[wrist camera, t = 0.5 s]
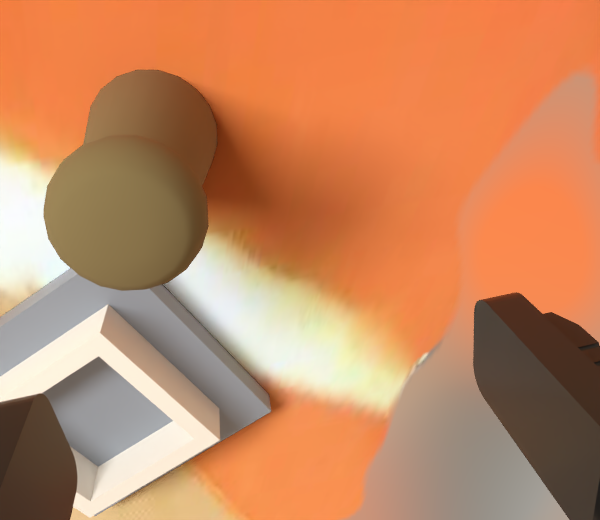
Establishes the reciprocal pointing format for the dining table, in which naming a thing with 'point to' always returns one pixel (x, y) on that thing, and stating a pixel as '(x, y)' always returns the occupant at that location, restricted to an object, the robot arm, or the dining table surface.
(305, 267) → the dining table surface
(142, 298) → the board
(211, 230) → the dining table surface
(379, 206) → the dining table surface
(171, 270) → the olive brown knobbed peg
